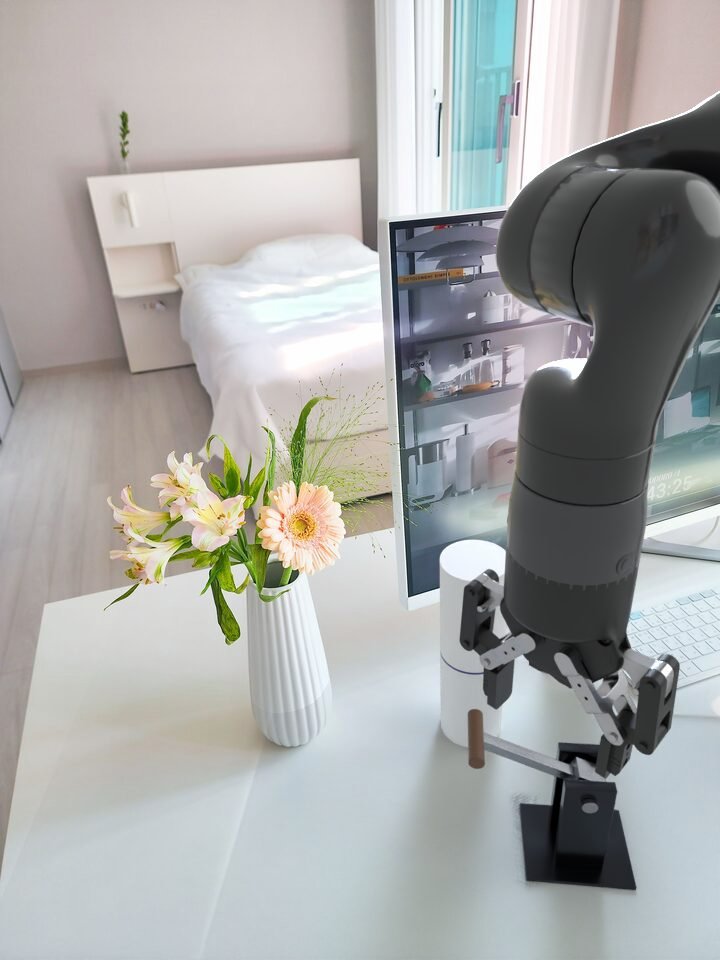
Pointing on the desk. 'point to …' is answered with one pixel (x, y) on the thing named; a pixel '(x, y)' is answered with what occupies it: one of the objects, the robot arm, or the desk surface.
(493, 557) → the cylindrical container
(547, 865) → the bracket
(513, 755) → the lever
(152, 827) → the desk surface
